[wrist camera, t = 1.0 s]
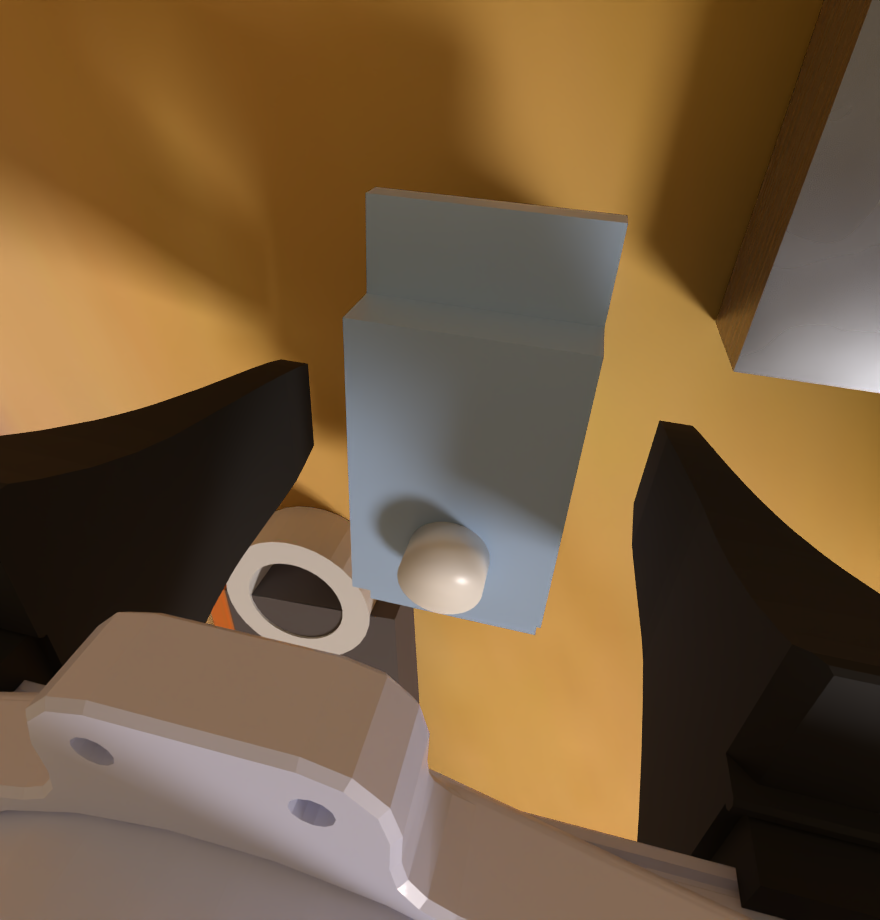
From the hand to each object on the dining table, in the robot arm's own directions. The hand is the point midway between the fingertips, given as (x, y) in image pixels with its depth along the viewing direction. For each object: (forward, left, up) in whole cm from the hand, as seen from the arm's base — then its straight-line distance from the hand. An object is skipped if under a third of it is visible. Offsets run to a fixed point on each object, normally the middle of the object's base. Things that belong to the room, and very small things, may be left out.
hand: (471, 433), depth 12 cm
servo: (0, 0, -3) cm, 3 cm away
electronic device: (+5, +13, -3) cm, 14 cm away
